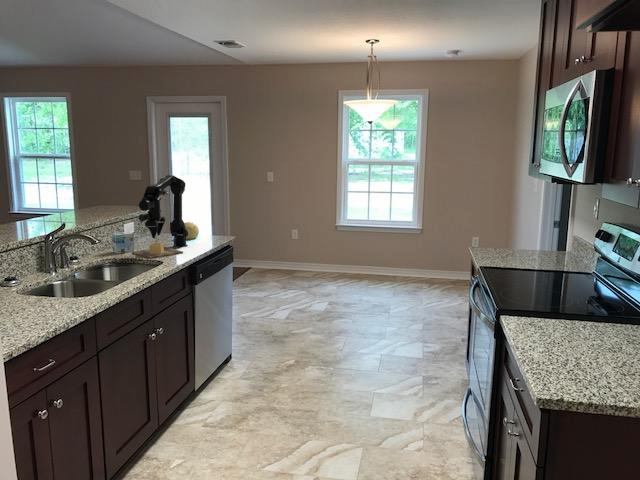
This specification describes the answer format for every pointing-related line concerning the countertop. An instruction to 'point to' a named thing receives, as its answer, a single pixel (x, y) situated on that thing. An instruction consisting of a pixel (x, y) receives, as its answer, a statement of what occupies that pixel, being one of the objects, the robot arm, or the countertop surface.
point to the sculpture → (191, 230)
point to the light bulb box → (123, 242)
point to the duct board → (166, 253)
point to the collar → (156, 248)
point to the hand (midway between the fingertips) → (156, 236)
